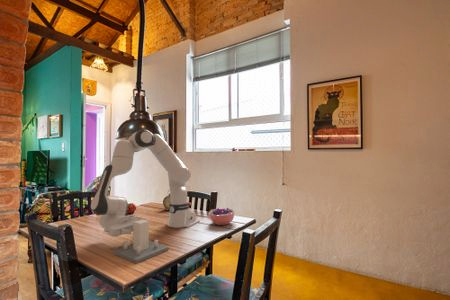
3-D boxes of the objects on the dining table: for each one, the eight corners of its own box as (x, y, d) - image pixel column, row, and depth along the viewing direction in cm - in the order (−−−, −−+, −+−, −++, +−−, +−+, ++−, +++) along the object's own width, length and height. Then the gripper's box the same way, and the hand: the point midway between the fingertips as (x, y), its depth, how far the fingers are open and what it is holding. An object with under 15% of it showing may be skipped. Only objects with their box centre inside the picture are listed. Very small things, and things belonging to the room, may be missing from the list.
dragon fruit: (125, 217, 186) (132, 215, 198) (134, 210, 186) (141, 209, 198) (119, 208, 187) (126, 206, 199) (129, 201, 188) (135, 200, 200)
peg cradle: (144, 242, 132) (144, 232, 132) (168, 249, 122) (168, 239, 122) (112, 253, 117) (112, 243, 117) (136, 263, 107) (136, 251, 107)
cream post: (142, 245, 123) (142, 219, 123) (148, 248, 120) (148, 221, 120) (133, 249, 119) (133, 221, 119) (139, 251, 116) (140, 223, 116)
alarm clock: (162, 211, 200) (163, 190, 200) (162, 209, 205) (162, 189, 205) (176, 210, 203) (176, 190, 203) (176, 208, 208) (176, 189, 208)
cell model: (239, 222, 170) (239, 205, 170) (224, 230, 153) (224, 211, 153) (218, 218, 179) (218, 202, 179) (202, 225, 162) (202, 208, 162)
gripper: (102, 223, 120) (118, 228, 112) (138, 214, 137) (155, 218, 129) (102, 236, 120) (118, 242, 112) (138, 226, 137) (155, 230, 129)
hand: (138, 229), depth 120 cm, fingers open, 8 cm apart
